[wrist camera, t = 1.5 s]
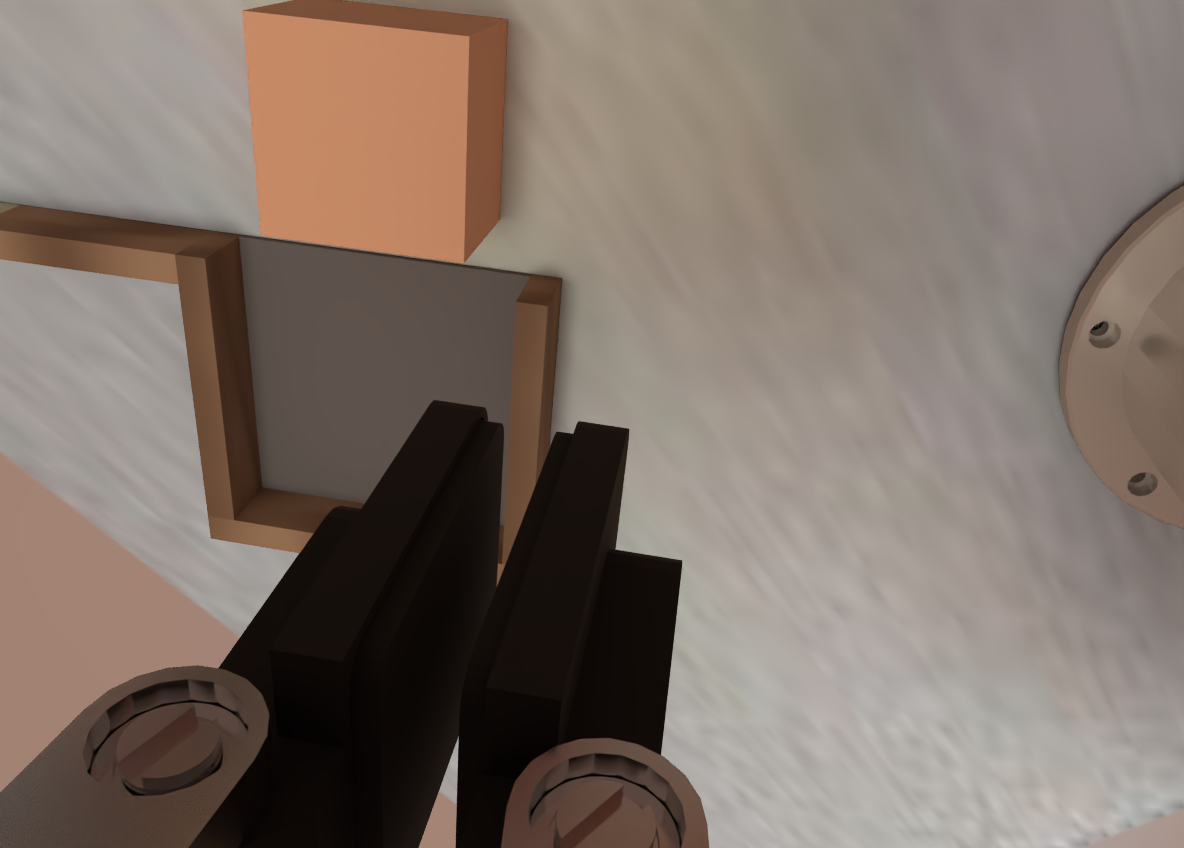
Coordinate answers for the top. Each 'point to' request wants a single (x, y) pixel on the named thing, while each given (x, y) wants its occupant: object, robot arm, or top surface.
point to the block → (377, 125)
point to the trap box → (323, 360)
